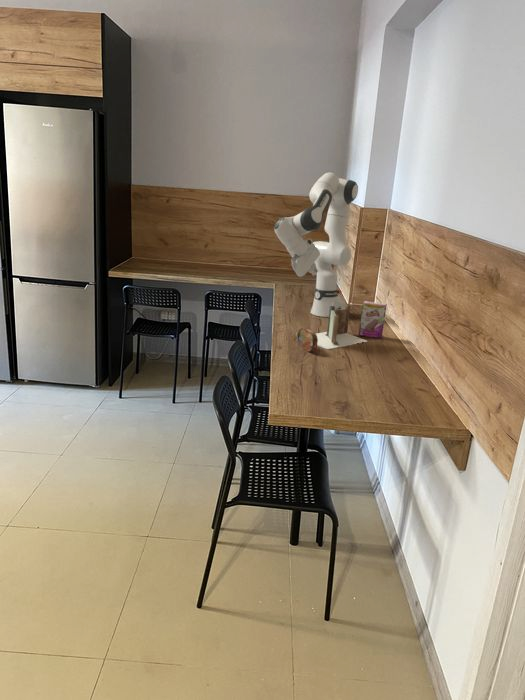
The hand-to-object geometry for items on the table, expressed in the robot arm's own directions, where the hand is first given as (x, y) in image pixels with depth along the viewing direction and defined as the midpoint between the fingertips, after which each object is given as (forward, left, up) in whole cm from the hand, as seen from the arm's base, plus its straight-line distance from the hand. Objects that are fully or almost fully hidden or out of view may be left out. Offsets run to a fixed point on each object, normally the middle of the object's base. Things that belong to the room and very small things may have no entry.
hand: (316, 273), depth 249 cm
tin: (+19, +19, -29) cm, 39 cm away
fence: (-9, +9, -28) cm, 31 cm away
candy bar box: (-23, +18, -29) cm, 41 cm away
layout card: (-1, +14, -29) cm, 32 cm away
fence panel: (+1, +16, -28) cm, 32 cm away
